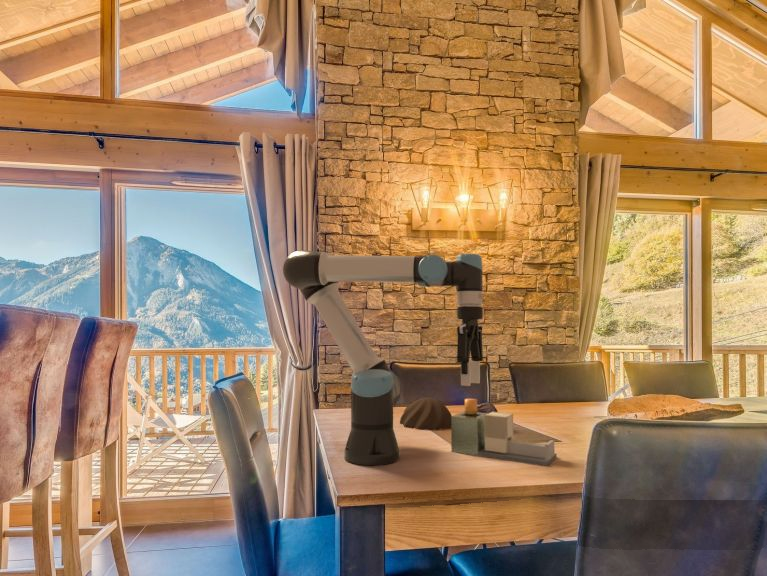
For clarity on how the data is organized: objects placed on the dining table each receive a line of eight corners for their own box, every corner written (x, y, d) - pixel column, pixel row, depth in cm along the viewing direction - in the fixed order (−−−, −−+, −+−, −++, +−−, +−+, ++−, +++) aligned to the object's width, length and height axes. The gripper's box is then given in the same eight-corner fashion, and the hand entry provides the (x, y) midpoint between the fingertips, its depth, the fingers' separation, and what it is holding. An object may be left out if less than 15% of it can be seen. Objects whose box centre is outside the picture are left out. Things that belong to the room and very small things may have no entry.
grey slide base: (547, 466, 129) (546, 446, 130) (477, 455, 140) (477, 437, 140) (556, 457, 138) (556, 438, 138) (490, 447, 148) (490, 430, 148)
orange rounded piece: (474, 415, 144) (474, 400, 144) (462, 414, 146) (462, 399, 146) (479, 413, 147) (478, 399, 148) (467, 412, 149) (467, 398, 149)
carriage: (505, 453, 137) (505, 417, 138) (484, 450, 140) (484, 415, 141) (513, 448, 143) (513, 413, 143) (493, 445, 146) (492, 411, 147)
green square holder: (477, 455, 140) (477, 419, 140) (451, 451, 144) (451, 416, 145) (490, 447, 148) (490, 413, 149) (465, 444, 152) (465, 411, 153)
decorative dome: (460, 422, 187) (460, 395, 188) (442, 432, 170) (442, 402, 170) (413, 417, 196) (413, 391, 197) (391, 427, 178) (391, 398, 179)
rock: (466, 434, 172) (494, 436, 167) (463, 409, 172) (492, 411, 167) (477, 422, 182) (504, 424, 178) (474, 399, 182) (502, 401, 177)
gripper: (468, 304, 139) (469, 388, 137) (493, 306, 155) (494, 381, 153) (444, 305, 143) (444, 387, 141) (470, 307, 159) (471, 380, 157)
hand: (470, 384), depth 147 cm, fingers open, 6 cm apart
